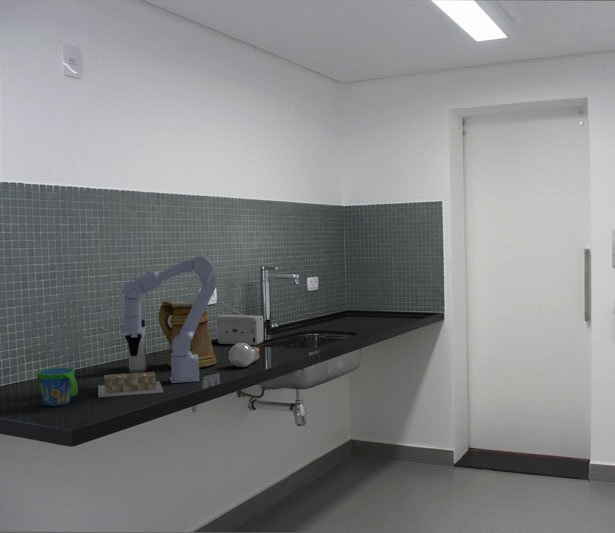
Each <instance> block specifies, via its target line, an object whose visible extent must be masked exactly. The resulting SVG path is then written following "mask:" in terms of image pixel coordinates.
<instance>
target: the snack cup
mask: <svg viewBox="0 0 615 533" xmlns="http://www.w3.org/2000/svg"><path fill="white" fill-rule="evenodd" d="M75 372H76V371H75V369H73V368H70V367H56V368H55V367H54V368H53V367H52V368H45V369H41V370H39V371H37V374H36V376H37V377H36V381H35V390H36V391H37V392H41V397H42V402H43V403H42V404H43V405H44V406H48V407H62V406H63V407H64V406H67V405H68V404H69V403H70V401H71V397H74V396H76V395H77V394H78V391H79V387H78V384H77V379H76V377H75V375H76V374H75Z"/></svg>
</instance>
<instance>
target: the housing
mask: <svg viewBox="0 0 615 533" xmlns="http://www.w3.org/2000/svg"><path fill="white" fill-rule="evenodd" d="M141 373H146V374H147V375H141V376H138V374H141ZM114 375H121V376H122V377H113V376H114ZM156 377H157V376H156V374H155V371H147V372H146V371H144V372H138V373H132V372H129V373H115V374H104V376H103V378H104V379H103V380H104V383H103V385H105V392H106V391H119V390H132V389H145V388H156Z"/></svg>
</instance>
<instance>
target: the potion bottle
mask: <svg viewBox="0 0 615 533" xmlns="http://www.w3.org/2000/svg"><path fill="white" fill-rule="evenodd" d="M228 352H229V353H228V359H229V362H230V363H231V365H233V366H234V367H236V368H243V367H245V368H247V367H248V366H249V365H252V364H255V363H256V362H257V361H260V360H261V358H262V354H261V351H260V347H258V346H252V345H248V344H246V343H237V344H233V345H232V347H231V348H230V350H229V351H228Z"/></svg>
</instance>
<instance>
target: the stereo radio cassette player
mask: <svg viewBox="0 0 615 533" xmlns="http://www.w3.org/2000/svg"><path fill="white" fill-rule="evenodd" d="M219 303H221V304H223V305H224V306H226V307H227V308H230V309H231V310H232V311H234V312H236V313H238V314H221V315H216V320H217V321H216V322H217V342H218V344H220V345H222V344H223V345H236V344H237V343H246V344H248V345H250V346H253V347H256V346H257V345H260V344H263V342H264V317H263V315H257V314H255V315H253V314H251V315H250V314H248V315H247V314H243V313H241V312H239V311H238V310H236V309H234V308H232V307H231V306H229V305H227V304H225V303H223V302H222V301H220V300H219Z"/></svg>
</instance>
